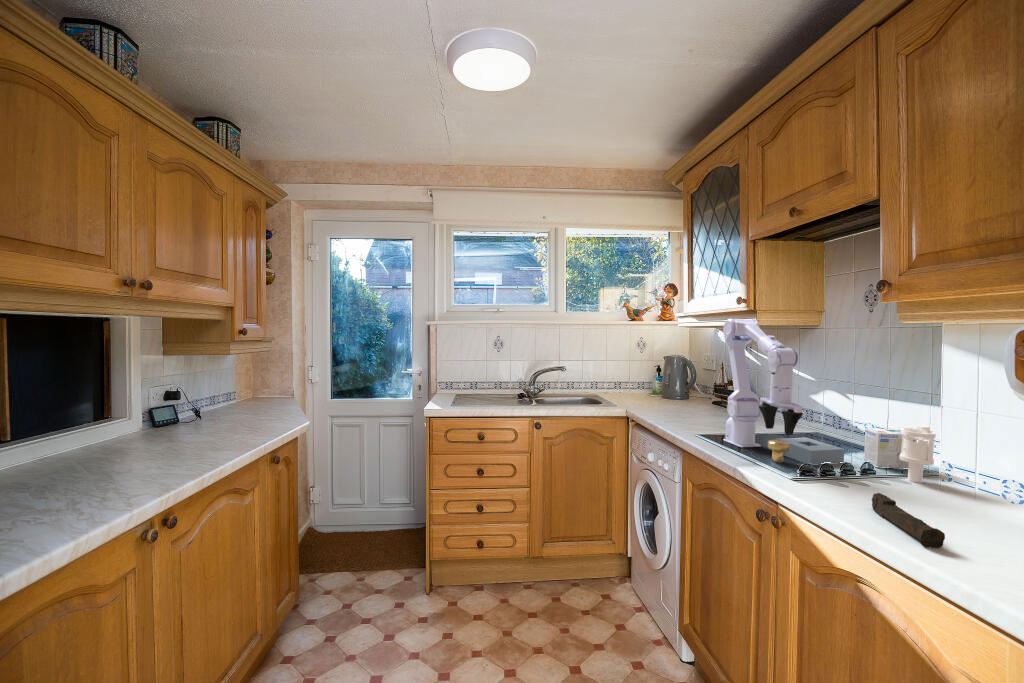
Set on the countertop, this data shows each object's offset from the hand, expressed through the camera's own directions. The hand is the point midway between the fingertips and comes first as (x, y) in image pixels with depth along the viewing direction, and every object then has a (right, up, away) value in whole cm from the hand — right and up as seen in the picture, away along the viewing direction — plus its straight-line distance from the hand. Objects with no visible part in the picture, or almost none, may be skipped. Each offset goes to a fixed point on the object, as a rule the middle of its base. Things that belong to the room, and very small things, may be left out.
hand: (778, 431), depth 141 cm
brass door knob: (0, -9, 0) cm, 9 cm away
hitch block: (+12, -9, +5) cm, 16 cm away
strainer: (+29, -11, -15) cm, 34 cm away
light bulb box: (+32, -10, -2) cm, 34 cm away
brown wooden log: (0, -12, -44) cm, 45 cm away
